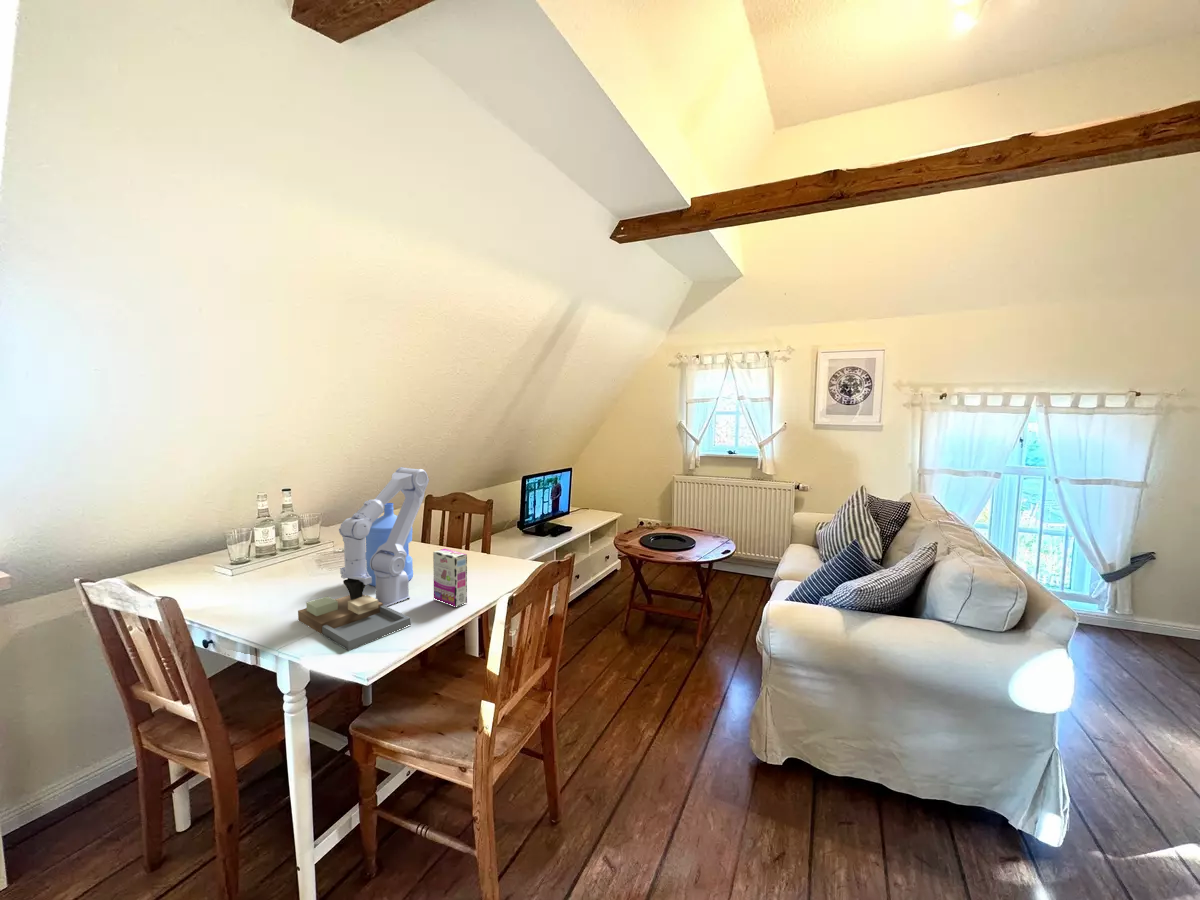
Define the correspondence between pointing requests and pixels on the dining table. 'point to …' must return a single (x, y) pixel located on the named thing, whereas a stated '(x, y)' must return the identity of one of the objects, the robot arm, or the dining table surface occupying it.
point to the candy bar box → (450, 576)
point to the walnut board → (334, 616)
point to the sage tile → (322, 606)
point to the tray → (367, 628)
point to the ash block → (362, 604)
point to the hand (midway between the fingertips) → (356, 602)
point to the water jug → (385, 540)
